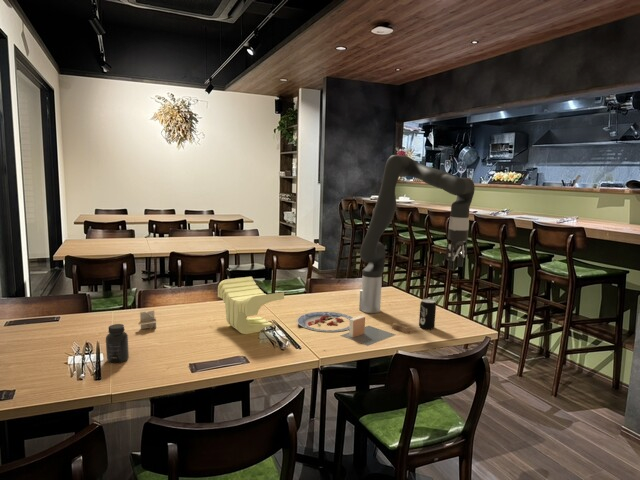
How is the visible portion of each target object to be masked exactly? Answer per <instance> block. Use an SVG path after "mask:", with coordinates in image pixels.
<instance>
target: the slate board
mask: <svg viewBox="0 0 640 480" xmlns="http://www.w3.org/2000/svg"><path fill="white" fill-rule="evenodd" d="M396 335H397V334H396V333H393V332H389V331H386V330H383V329H379V328H378V327H373V326H371V325H367V326H366V325H365V333H364V334H362V335H359V336H356V337H353V338H352V337H349V332H345V333H343V334H341V335H340V337H343V338H346V339H348V340H351V341H354V342H356V343H359V344H361V345H364V346H367V347H368V346H370V345H374V344H376V343H379V342H380V341H384V340H386V339H389V338H391V337H394V336H396Z"/></svg>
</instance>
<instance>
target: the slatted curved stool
mask: <svg viewBox="0 0 640 480" xmlns="http://www.w3.org/2000/svg"><path fill="white" fill-rule="evenodd" d="M217 298H220V299H222V300H223V303H224V304H225V306H224V308H225V314H226V316H225V317H226V322H227V324H228V325H230V326H231V327H232V328H234V329H235V330H237V332H239V334H240V333H241V334H242V335H247V334H255V333H259V332H261V331H260V330H261V329H263V328H265V327H269V326H273V325H274V324H273V323H272V322H269V321H268V320H267V319H266V318H264V317H263V316H257V315H258V313H259V310H260V309H261V307H262V306H264V305H266V304H268V303H271V302H274V301H275V302H277V301H281V300H285V291H283V292H281V291H280V292H276V293H267V294H266V293H264V291H263V290H262V289H260V287H259V285H257V283H256V282H255V280H254V278H253V276H245V277H235V278H227V279H224V280H221V281H220V282H219V284H218V286H217ZM253 316H254V317H253ZM255 316H257V317H255ZM273 327H274V326H273Z"/></svg>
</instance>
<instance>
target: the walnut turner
mask: <svg viewBox="0 0 640 480" xmlns="http://www.w3.org/2000/svg"><path fill="white" fill-rule="evenodd" d="M391 329H393V330H395V331H397V332H402V333H406V334H407V333H409V332H410V330H411V327H410V326H408V325H404V324H401V323H398V322H394V323H392V325H391Z"/></svg>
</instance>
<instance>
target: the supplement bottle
mask: <svg viewBox="0 0 640 480" xmlns="http://www.w3.org/2000/svg"><path fill="white" fill-rule="evenodd" d="M105 349H106V361H107V362H108V363H109V364H113V365H114V364H115V365H116V364H122V363H124V362H127V361H128V360H129V358H130V354H129V353H130V351H129V350H130V349H129V335H128V333H127V332H126V331H125V324H122V323H114V324H110V325H109V326H108V334H107V335H106V337H105Z"/></svg>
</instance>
